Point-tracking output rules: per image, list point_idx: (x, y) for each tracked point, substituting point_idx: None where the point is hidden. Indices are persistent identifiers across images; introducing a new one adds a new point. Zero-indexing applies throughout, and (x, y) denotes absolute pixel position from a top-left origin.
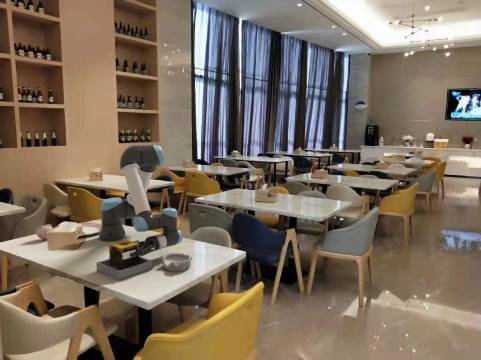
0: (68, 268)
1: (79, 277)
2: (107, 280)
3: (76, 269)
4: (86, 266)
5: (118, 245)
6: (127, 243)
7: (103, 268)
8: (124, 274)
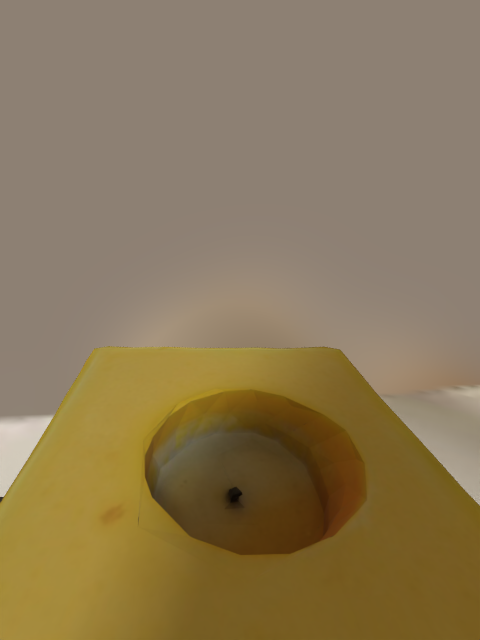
0: (437, 414)
1: None
2: None
3: (410, 427)
4: (452, 475)
5: (227, 373)
6: (296, 560)
7: None
8: None
